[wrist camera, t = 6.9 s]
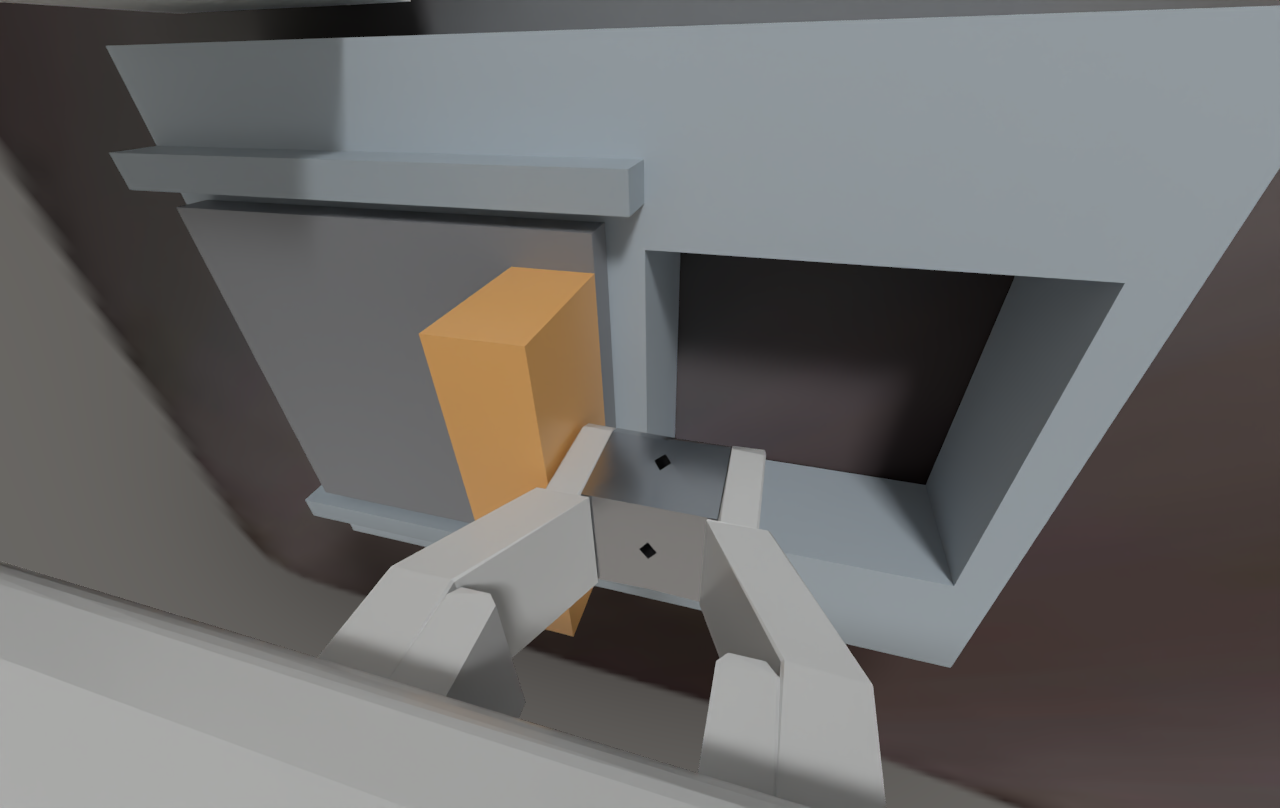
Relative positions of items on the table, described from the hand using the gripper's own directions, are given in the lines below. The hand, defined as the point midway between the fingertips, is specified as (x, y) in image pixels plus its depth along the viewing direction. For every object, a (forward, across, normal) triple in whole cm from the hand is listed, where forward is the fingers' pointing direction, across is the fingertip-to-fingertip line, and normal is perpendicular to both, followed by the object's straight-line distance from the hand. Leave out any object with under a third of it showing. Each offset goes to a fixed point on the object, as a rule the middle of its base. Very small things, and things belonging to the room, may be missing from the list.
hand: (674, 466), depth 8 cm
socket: (+4, +2, 0) cm, 5 cm away
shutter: (+1, +6, 0) cm, 6 cm away
